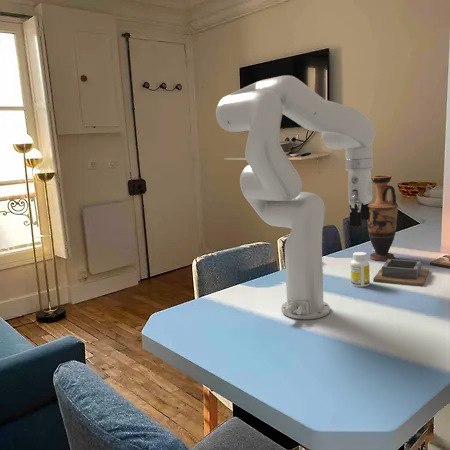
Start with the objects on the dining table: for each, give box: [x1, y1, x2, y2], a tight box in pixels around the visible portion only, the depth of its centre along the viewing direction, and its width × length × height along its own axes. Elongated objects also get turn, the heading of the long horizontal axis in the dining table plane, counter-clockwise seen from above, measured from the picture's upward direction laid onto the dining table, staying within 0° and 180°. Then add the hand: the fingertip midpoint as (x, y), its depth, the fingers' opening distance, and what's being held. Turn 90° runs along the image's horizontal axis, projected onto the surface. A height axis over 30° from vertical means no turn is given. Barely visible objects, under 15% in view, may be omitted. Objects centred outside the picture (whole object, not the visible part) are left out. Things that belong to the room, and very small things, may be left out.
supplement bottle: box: [350, 251, 371, 288], centre depth 135 cm, size 5×5×10 cm
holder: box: [372, 258, 430, 287], centre depth 140 cm, size 16×14×4 cm
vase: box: [366, 174, 399, 262], centre depth 160 cm, size 11×11×30 cm
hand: (360, 222), depth 132 cm, fingers open, 9 cm apart
